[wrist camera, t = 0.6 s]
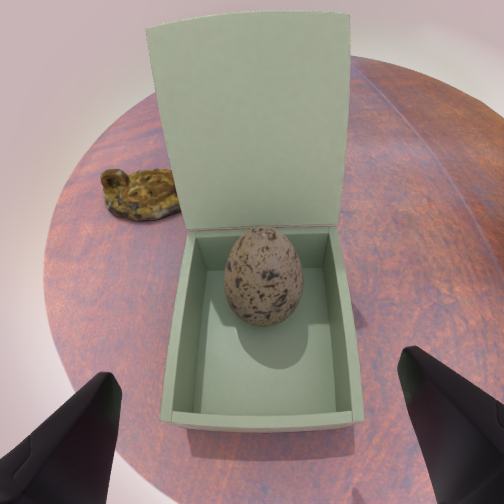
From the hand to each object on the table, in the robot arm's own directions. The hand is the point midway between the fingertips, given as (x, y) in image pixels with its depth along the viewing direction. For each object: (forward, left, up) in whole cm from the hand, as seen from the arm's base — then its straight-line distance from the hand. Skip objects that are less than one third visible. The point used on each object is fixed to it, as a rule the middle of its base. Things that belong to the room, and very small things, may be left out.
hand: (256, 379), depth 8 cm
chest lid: (+16, -1, -1) cm, 16 cm away
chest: (+7, 0, -16) cm, 17 cm away
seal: (+28, +13, -16) cm, 35 cm away
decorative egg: (+10, -1, -15) cm, 18 cm away
